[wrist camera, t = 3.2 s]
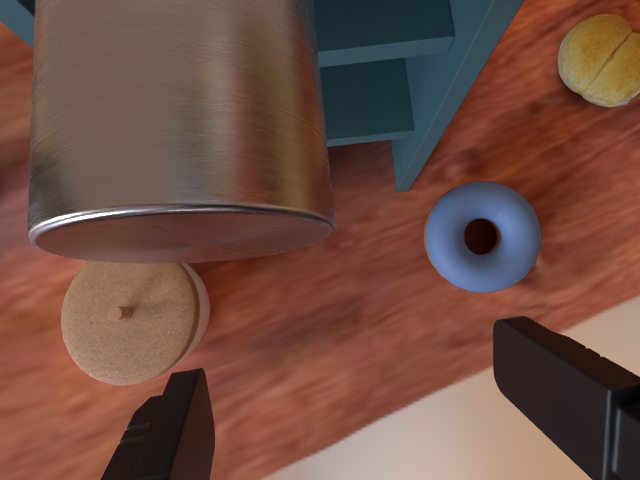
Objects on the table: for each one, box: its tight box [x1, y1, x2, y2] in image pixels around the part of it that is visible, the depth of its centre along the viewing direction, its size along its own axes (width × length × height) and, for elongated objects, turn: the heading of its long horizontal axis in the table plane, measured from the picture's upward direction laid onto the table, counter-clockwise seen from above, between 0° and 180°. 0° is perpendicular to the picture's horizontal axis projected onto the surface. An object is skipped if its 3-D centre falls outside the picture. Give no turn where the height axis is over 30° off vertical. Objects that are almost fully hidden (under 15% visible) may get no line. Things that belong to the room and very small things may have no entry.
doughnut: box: [424, 182, 541, 292], centre depth 35 cm, size 10×10×5 cm
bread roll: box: [557, 14, 640, 107], centre depth 37 cm, size 8×9×4 cm
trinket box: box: [61, 261, 210, 385], centre depth 33 cm, size 11×11×9 cm
